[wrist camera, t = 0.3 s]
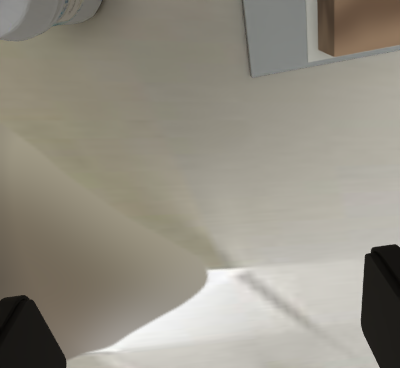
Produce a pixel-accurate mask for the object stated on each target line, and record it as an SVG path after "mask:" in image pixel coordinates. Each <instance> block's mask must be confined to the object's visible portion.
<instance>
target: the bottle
mask: <svg viewBox="0 0 400 368" xmlns="http://www.w3.org/2000/svg"><path fill="white" fill-rule="evenodd" d="M101 2H102V0H0V40H6V41H23V40H27V39H30V38H33V37H35V36H37V35H40V34H42V33H44V32H45V31H47V30H48V29H49V28H50V27H52V26H56V25H61V24H64V25H69V24H77V23H81V22H84V21H86V20H88V19H89V18H91V17H93V16H94V15H95V13H96V11H97V10H98V8H99V6H100V4H101Z"/></svg>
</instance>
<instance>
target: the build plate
mask: <svg viewBox="0 0 400 368" xmlns="http://www.w3.org/2000/svg"><path fill="white" fill-rule="evenodd" d="M242 3H243V12H244V21H245V30H246V39H247V48H248V57H249V66H250V75H251V77H252V78H253V77H259V76H264V75H269V74H275V73H280V72H286V71H291V70H296V69H302V68H307V67H312V66H318V65H323V64H329V63H334V62H339V61H345V60H350V59H355V58H361V57H366V56H371V55H377V54H382V53H388V52H393V51H398V50H400V45H397V46H392V47H386V48H381V49H376V50H370V51H365V52H360V53H354V54H349V55H344V56H338V57H333V56H331V55H328V54H326V53H324V52H322V51H320V50H318V11H317V0H242Z"/></svg>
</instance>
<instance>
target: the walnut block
mask: <svg viewBox="0 0 400 368" xmlns="http://www.w3.org/2000/svg"><path fill="white" fill-rule="evenodd" d="M317 11H318V50H320V51H322V52H324V53H326V54H328V55H331V56H333V57H338V56H344V55H349V54H354V53H360V52H365V51H370V50H376V49H381V48H386V47H392V46H397V45H400V0H317Z"/></svg>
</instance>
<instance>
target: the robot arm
mask: <svg viewBox="0 0 400 368" xmlns="http://www.w3.org/2000/svg"><path fill="white" fill-rule="evenodd" d="M361 327H362V331H363V334H364V336H365V338H366V340H367V342H368V344H369V346H370V348H371V350H372V352H373V355H374V357H375V359H376V361H377V363H378V365H379V367H380V368H400V247H399V246H398V245H396V244H393V245H386V246H379V247H373V248H372V249H371V253H369V254H366V255H365V263H364V279H363V295H362V311H361ZM0 368H66V358H65V356H64V354H63V353H62V350H61V349H60V347H59V345H58V343H57V342H56V340H55V338H54V336H53V335H52V333H51V331H50V329H49V327H48V325H47V324H46V322H45V320H44V318H43V317H42V315H41V313H40V311H39V309H38V308H37V306H36V304H35V302H34V301H33V300H29V298H28V297H27V296H25V295H21V296H14V297H7V298H3V299H2V300H1V301H0Z"/></svg>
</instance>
